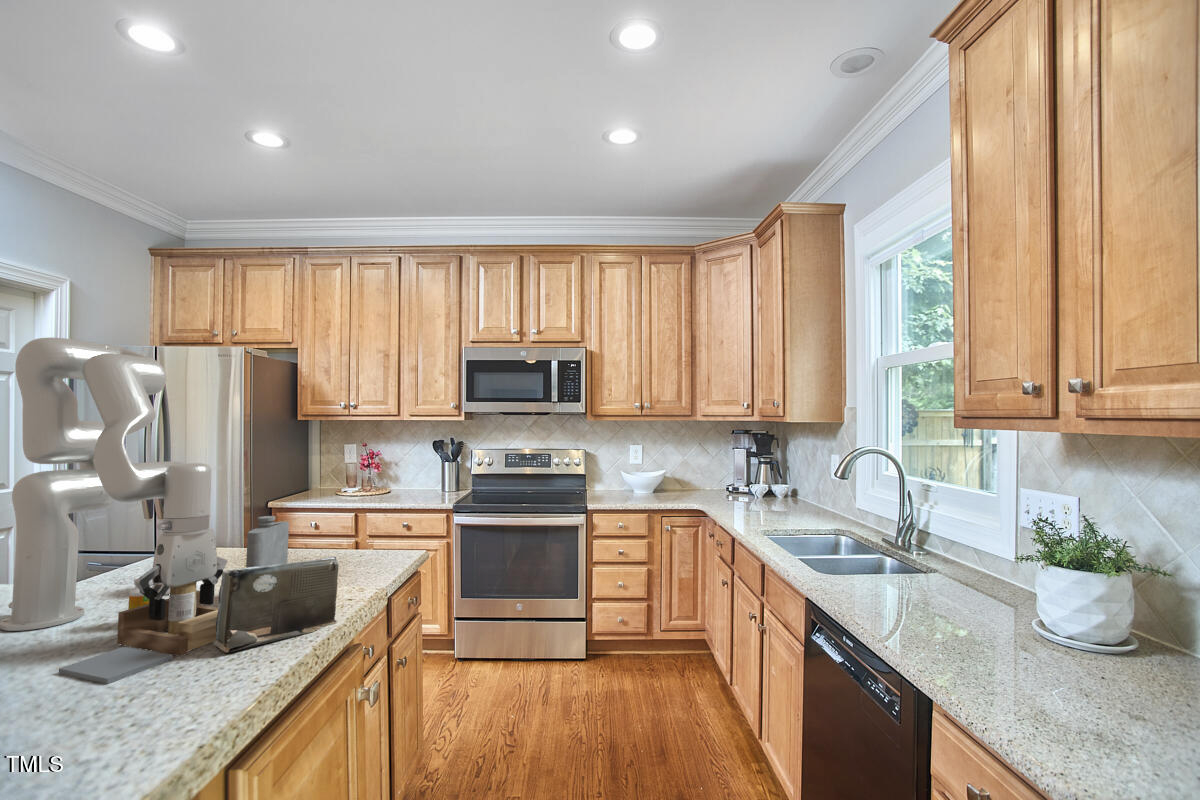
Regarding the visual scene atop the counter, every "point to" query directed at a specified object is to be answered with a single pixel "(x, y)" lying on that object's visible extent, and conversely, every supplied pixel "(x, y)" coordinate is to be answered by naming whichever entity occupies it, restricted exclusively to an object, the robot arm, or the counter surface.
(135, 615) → the rack
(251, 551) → the hip flask
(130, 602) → the supplement bottle
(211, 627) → the offcut stack
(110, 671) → the rubber mat
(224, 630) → the radio
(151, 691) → the counter surface
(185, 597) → the sprinkles bottle
